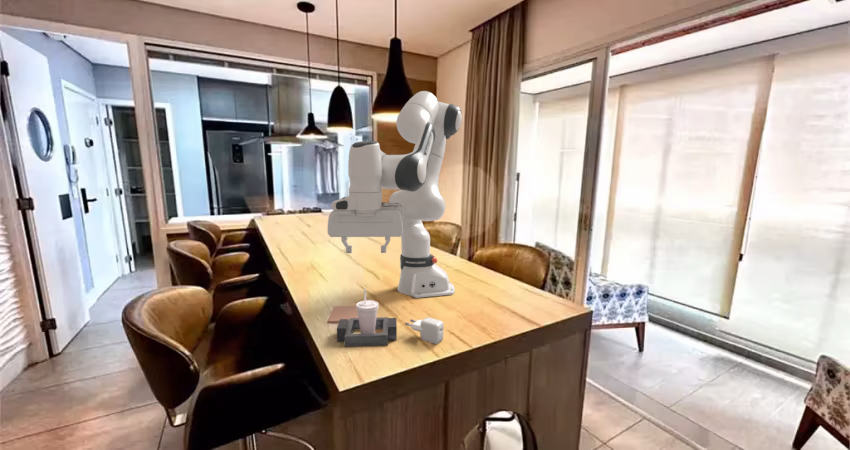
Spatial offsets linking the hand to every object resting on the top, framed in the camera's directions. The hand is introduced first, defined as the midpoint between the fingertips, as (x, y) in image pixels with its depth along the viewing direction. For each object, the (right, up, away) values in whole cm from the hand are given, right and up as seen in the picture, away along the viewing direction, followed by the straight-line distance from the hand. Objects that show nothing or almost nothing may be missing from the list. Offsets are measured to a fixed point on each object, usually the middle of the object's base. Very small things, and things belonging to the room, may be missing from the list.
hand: (366, 252), depth 99 cm
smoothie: (0, -25, +4) cm, 25 cm away
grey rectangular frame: (0, -24, +4) cm, 25 cm away
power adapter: (+16, -25, +4) cm, 30 cm away
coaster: (-8, -22, +18) cm, 30 cm away
